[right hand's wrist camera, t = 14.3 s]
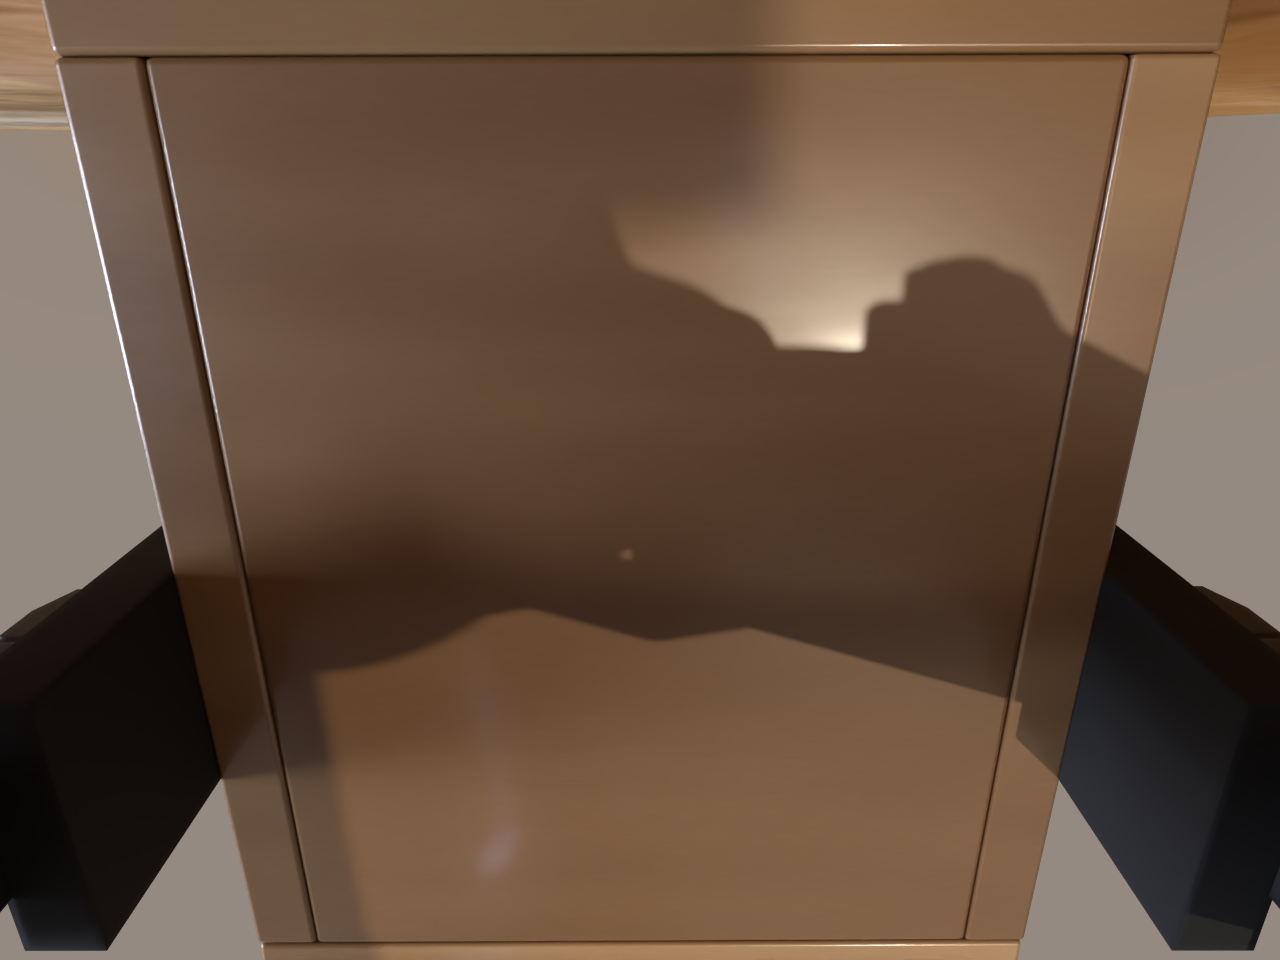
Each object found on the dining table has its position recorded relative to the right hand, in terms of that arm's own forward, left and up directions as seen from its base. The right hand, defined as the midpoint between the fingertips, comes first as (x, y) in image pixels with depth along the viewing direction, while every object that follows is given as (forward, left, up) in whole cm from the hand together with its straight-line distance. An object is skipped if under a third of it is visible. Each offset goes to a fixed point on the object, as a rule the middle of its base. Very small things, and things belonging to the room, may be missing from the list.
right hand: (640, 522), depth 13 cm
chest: (+1, -4, -7) cm, 8 cm away
